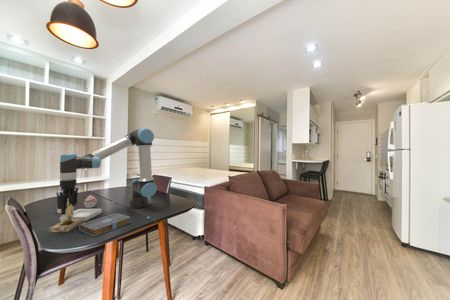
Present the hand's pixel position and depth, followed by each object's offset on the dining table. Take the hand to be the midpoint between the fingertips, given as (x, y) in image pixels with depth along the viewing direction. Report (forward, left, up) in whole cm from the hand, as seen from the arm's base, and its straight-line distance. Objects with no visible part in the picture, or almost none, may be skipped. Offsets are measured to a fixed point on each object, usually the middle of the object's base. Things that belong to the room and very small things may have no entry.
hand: (67, 218), depth 104 cm
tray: (+3, -16, -6) cm, 18 cm away
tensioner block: (0, 0, -6) cm, 6 cm away
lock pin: (0, 0, -5) cm, 5 cm away
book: (-22, 0, -6) cm, 23 cm away
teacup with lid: (+25, -29, -6) cm, 39 cm away
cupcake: (+12, -37, -6) cm, 40 cm away
